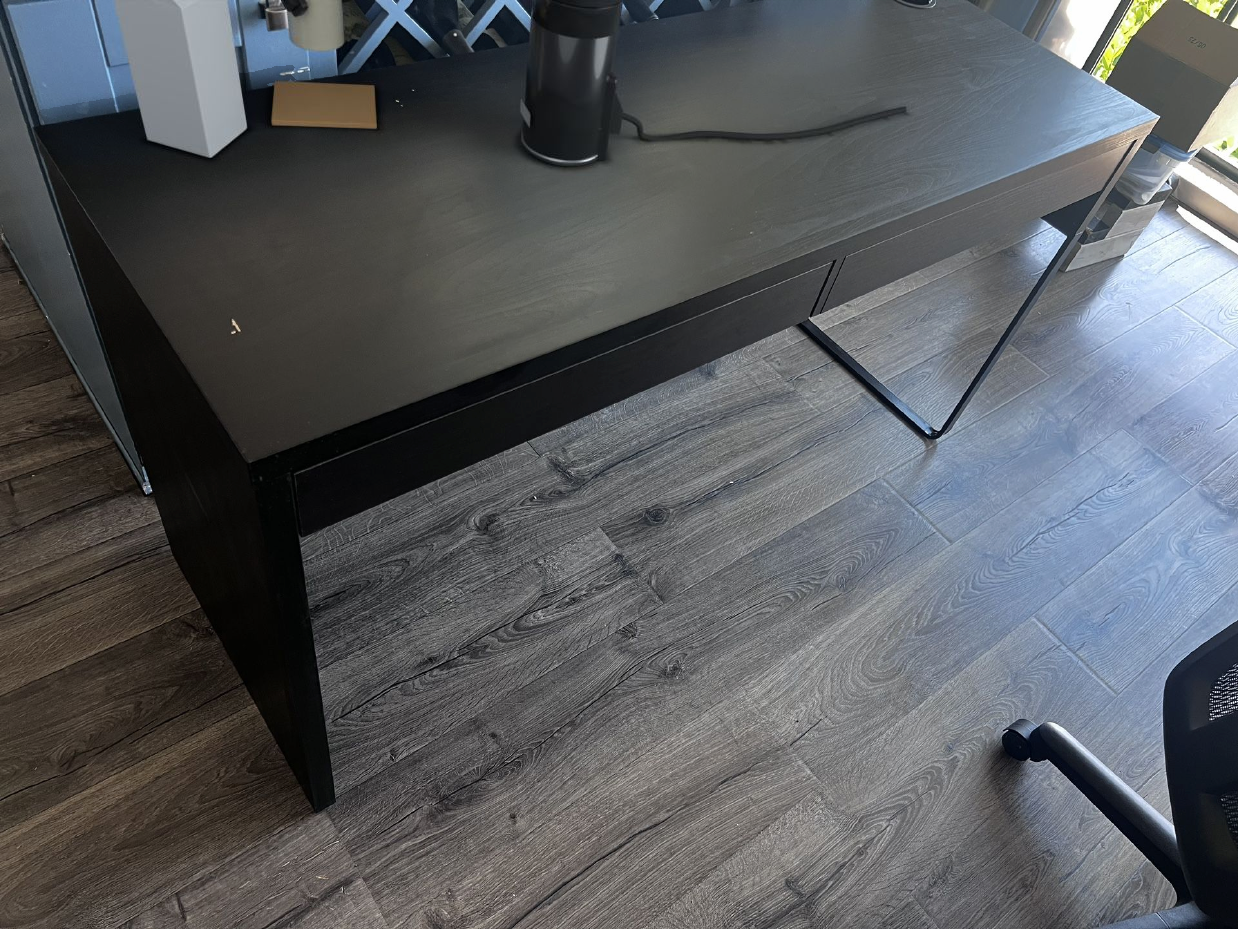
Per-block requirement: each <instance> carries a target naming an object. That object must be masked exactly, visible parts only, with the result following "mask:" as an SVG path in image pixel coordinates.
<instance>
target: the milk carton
mask: <svg viewBox="0 0 1238 929" xmlns="http://www.w3.org/2000/svg"><path fill="white" fill-rule="evenodd" d="M113 3H114V8H115V11H116V15H117V19H118V22H119V23H118V24H119V27H120V32H121V35H122V41H123V45H124V49H125V52H126V58H127V60H128V66H129V70H130V74H131V77H132V82H133V86H134V90H135V94H136V97H137V104H138V107H139V112H140V116H141V120H142V123H143V128H144V132H145V135H146V140H147V141H149V142H154V143H157V144H159V145H163V146H167V147H171V148H174V149H178V150H181V151H185V152H187V153H191V154H195V155H198V156H202V157H206V158H213V157H214V156H216V155H217V154H218V153H219V152H221V151H222V149H225V147H226V146H228V145H229V144H231V142H232V141H234V140H235V139H237V137H239V136H240V135H241V134H243V133H244V132H245V131H246V130H247V129H248V124H247V119H246V118H247V117H246V111H245V105H244V99H243V93H242V87H241V80H240V74H239V67H238V66H239V65H238V60H237V55H236V47H235V42H234V35H233V29H232V21H231V16H230V10H229V3H228V0H113Z"/></svg>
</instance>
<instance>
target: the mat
mask: <svg viewBox="0 0 1238 929" xmlns="http://www.w3.org/2000/svg"><path fill="white" fill-rule="evenodd" d="M375 91H376V90H375V85H372V84H371V85H370V84H350V83H349V84H348V83H330V82H329V83H328V82H327V83H326V82H306V81H305V82H304V81H303V82H302V81H280V80H275V81H274V86H273V98H272V99H273V100H272V111H271V126H283V127H311V128H312V127H313V128H317V127H318V128H343V129H344V128H345V129H372V130H375V129H377V126H378V125H377V124H378V123H377V109H376V108H377V106H376V92H375Z"/></svg>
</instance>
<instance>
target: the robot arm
mask: <svg viewBox="0 0 1238 929" xmlns="http://www.w3.org/2000/svg"><path fill="white" fill-rule="evenodd" d="M350 1H351V0H342V4H346V3H349V2H350ZM280 2H281V4H282V6H283V7H284V9H285V10H286V12H287V11H288V12H291V13H292V15H293V16H294V17H298V16H301V15H303V14H304V12H305V11H306V10H307V9H308V5H307V2H306V0H280ZM623 5H624V0H531V12H530V22H529V23H530V24H529V37H528V38H529V39H528V50H527V65H526V77H525V93H524V101H523V100H522V98H520V106H519V107H520V108H519V112H520V114H521V115H522V117H523V119H522V126H521V127H522V131H521V134H520V135H521V136H520V143H521V147H522V148H523V149H524V151H526V152H527V153H528V154H529V155H530V156H531V157H533V158H535V159H537V160H539V161H541V162H544V163H547V164H551V165H553V166H554V165H555V166H560V167H580V166H585V165H589V164H591V163H594V162H596V161H605V160H607V154H608V147H609V140H610V135H620V134H621V128H622V121H623V120H624V121H626V122H628V123H631V124H632V125H634V126H635V127H636V133H637V136H638V137H639V138H640V139H641V140H643V141H646V142H664V141H680V140H686V139H693V138H724V139H738V140H750V141H751V140H752V141H753V140H754V141H756V140H757V141H764V140H765V141H767V140H768V141H769V140H770V141H771V140H772V141H773V140H788V139H798V138H805V137H806V138H807V137H812V136H817V135H825V134H828V133H833V132H837V131H840V130H844V129H846V128H850V127H854V126H856V125H859V124H864V123H868V122H871V121H876V120H879V119H883V118H887V117H891V116H894V115H899V114H903V113H905V112H906V111H907V110H908V109H907V107H906V106H900V107H896V108H892V109H888V110H883V111H880V112H876V113H872V114H868V115H863V116H861V117H858V118H854V119H850V120H848V121H844V122H841V123H837V124H833V125H830V126H825V127H820V128H814V129H807V130H801V131H791V132H776V133H775V132H774V133H772V132H771V133H751V132H750V133H749V132H736V131H723V130H722V131H721V130H693V131H686V132H681V133H676V134H670V135H663V136H656V135H655V136H654V135H651V134H650V135H649V134H647V133H645V132H644V127H643V124H642V122H641V121H640V120H639V119H638V118H636V117H635V116H633V115H631V114H629V113H626V112H624V109H623V107H622V105H621V104H622V103H621V102H620V99H619V97H618V95H617V93H616V92H617V85H618V77H617V74H616V72H615V70H614V68H615V61H616V55H617V53H616V52H617V47H618V40H619V34H620V26H621V20H622V19H621V18H622V12H623Z"/></svg>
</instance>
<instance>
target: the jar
mask: <svg viewBox="0 0 1238 929" xmlns="http://www.w3.org/2000/svg"><path fill="white" fill-rule="evenodd" d="M306 2H307V5H308V9H307V10H306V11H305V12H304V14H303V15H301V16H298V17H294V16H293V15H292V13H291V12H288V11H287V10H286V16H287V25H288V35H289V40H290V42H291V43H292V45H294V46H296V47H297V48H299V49H302V50H305V51H310V52H331V51H335V50H338V49H340V48H341V47H342V46H343V45H344V44H345V27H344V26H345V25H344V13H343V12H344V10H343V3H342V0H306Z"/></svg>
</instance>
